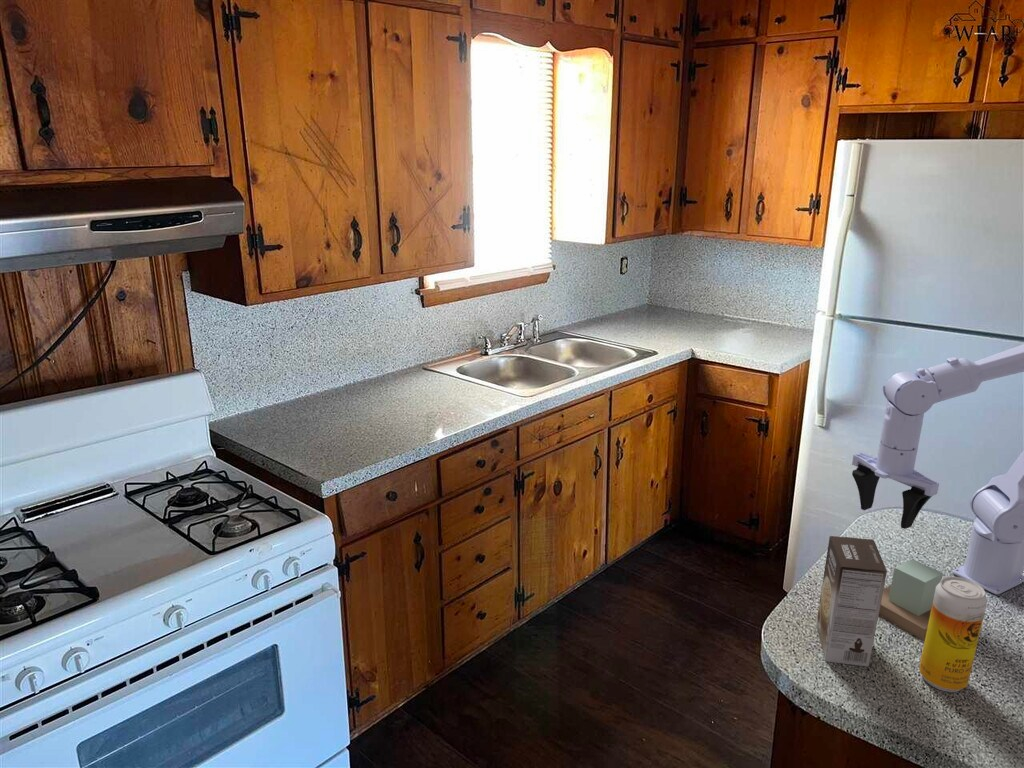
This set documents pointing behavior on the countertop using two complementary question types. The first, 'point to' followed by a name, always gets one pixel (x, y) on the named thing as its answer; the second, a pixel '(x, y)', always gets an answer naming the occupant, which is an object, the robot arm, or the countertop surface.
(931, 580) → the sage block
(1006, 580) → the robot arm
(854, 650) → the coffee box
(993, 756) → the countertop surface
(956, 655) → the beer can
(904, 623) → the walnut board
